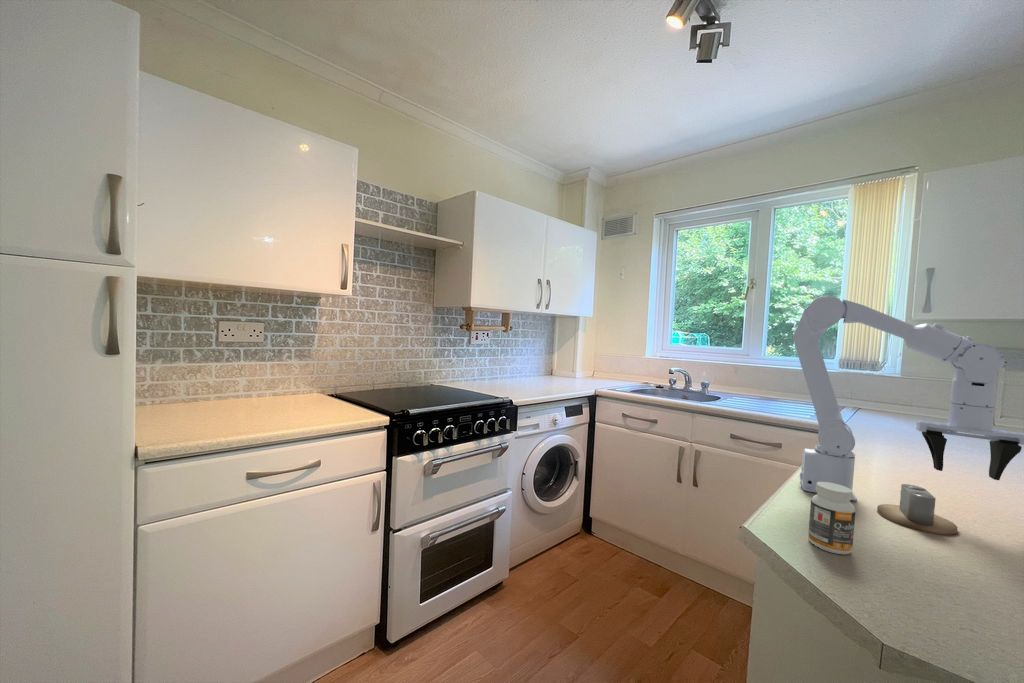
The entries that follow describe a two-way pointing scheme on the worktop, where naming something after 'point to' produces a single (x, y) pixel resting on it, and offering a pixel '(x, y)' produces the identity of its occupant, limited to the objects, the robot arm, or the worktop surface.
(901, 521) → the walnut coaster
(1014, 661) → the worktop surface
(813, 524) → the pill bottle
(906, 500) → the grey connector plug
